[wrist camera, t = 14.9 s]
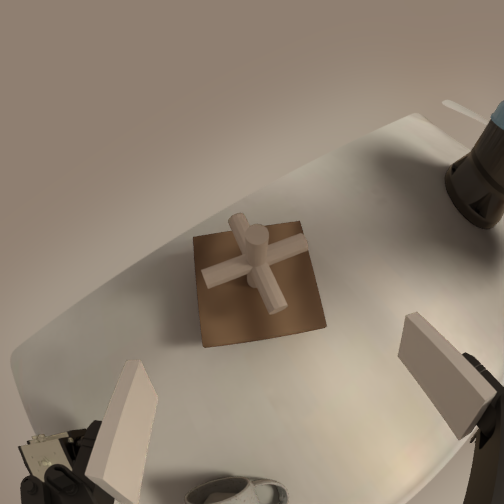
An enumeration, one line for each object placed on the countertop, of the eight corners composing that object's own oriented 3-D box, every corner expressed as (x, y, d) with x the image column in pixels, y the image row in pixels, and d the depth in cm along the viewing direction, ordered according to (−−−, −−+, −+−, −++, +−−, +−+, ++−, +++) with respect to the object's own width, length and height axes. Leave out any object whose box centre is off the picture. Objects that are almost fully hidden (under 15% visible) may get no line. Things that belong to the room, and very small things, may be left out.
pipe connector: (197, 257, 31) (177, 206, 22) (277, 228, 33) (286, 171, 24) (229, 339, 27) (217, 319, 18) (316, 303, 29) (344, 266, 20)
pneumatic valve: (135, 457, 25) (85, 480, 14) (75, 469, 23) (22, 484, 12) (116, 420, 27) (60, 428, 17) (60, 436, 25) (3, 440, 14)
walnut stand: (295, 240, 38) (299, 220, 33) (317, 333, 32) (326, 326, 28) (200, 255, 37) (193, 236, 33) (211, 351, 32) (202, 346, 27)
